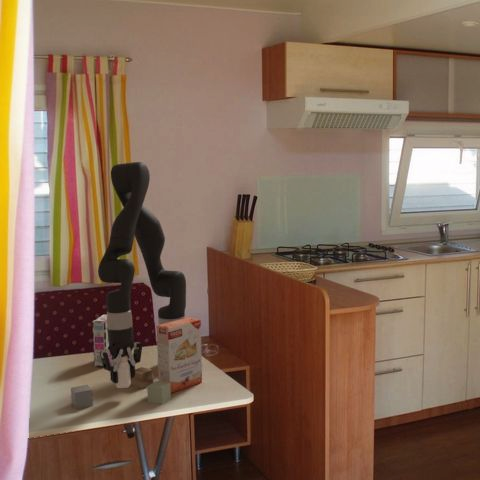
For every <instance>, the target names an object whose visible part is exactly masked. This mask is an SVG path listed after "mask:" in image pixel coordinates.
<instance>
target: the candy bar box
mask: <svg viewBox="0 0 480 480" xmlns="http://www.w3.org/2000/svg"><path fill="white" fill-rule="evenodd" d="M91 323H92V342H93V343H92V344H93V366H94V367H95V368H103V364H102V361H101V357H100V351H105V350H107V349H108V347H109V342H108V332H107V314H102V315H100V316H99V317H97V318H96V319H94V320H92V322H91ZM108 358H109V361H110V358H111V354H110V353H109V357H108Z"/></svg>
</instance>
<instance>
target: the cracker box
mask: <svg viewBox="0 0 480 480" xmlns="http://www.w3.org/2000/svg"><path fill="white" fill-rule="evenodd" d="M201 323H202V322H201V319H198V318H194V317H189V316H188V317H185V318H184V319H180V320H177V321H172V322H168V323H164V324H161V325H159V324H157V325H156V339H157V340H156V341H157V342H156V343H157V346H156V347H157V376H158V378H157V379H158V380H157V381H161V382H169V383H170V388H171V394H173V393H176V392H178V391H181V390H184V389H186V388H190V387H192V386H195V385H198V384H201V383H202V382H203V377H202V376H203V374H202V373H203V371H202V370H203V367H202V366H203V364H202V363H203V362H202V324H201Z"/></svg>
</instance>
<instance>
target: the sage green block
mask: <svg viewBox="0 0 480 480" xmlns="http://www.w3.org/2000/svg"><path fill="white" fill-rule="evenodd" d="M146 389H147V402H148V403H152V404H157V405H159V404H160V405H164V404H165V403H167V402H169V400H171V398H172V395H171V394H172V393H171V388H170V383H169V382H161V381H158V380H154V381H153V383H152V384H150V385H149V386H147V387H146Z"/></svg>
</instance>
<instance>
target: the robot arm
mask: <svg viewBox="0 0 480 480" xmlns="http://www.w3.org/2000/svg"><path fill="white" fill-rule="evenodd" d="M150 178H151V175H150V170H149V167H148V166H147V164H146V163H144V162H141V161H136V162H126V163H118V164H115V165H113V166H112V167H111V170H110V180H111V184H112V186H113V189H114V191H115V193H116V196H117V197H118V199H119V201H120V203H121V205H122V207H123V208H122V209H121V211H120V212H119V213H118V214H117V216H116V217H115V219H114V222H113V224H112V225H111V229H110V234H109V235H110V236H109V243H108V246H107V247H106V249H105V251H104V254H103V255H102V256H103V257H102V258H101V260H100V262H99V265H98V270H97V274H98V278H99V280H101V282H102V283H105V284H120V287H119V288H118V289H114V290H111V291H108V292H107V293H106V296H105V297H106V298H105V300H106V315H107V332H108V342H109V347H108V349H107V350H105V351H100V357H101V361H102V364H103V367H102V368H103V369H104V370H106V371H108V372H109V373H110V381H111V382H112V383H113V384H116V383H118V373H117V371H116V370H117V367H118V364H119V363H120V359H121V357H124V356H127V360H128V362H127V364H128V365H130V375H131V378H134V376H135V369H136V365H137V364H138V363H140V362H141V359H142V352H143V351H142V350H143V343H141V342H139V341H135V342H134V328H133V327H134V326H133V324H134V323H133V314H132V305H131V303H132V302H131V291H132V286H133V281H134V279H135V275H136V274H135V272H136V269H135V266H134V263H133V261H132V260H130V259H128V258H123V259H121V258H120V257H122V256H126V255H129V254H131V252H133V251H132V250H133V244H134V241H135V240H136V244H137V245H138V247H139V248H138V249H139V250H140V253H141V256H142V258H143V261H144V264H145V266H146V267H145V268H146V271H147V272H146V273H147V275H148V280H149V283H150V287H151V290H152V292H153V293H154V294H155V296H157V297H161V298H169V304H167V305H164V306H161V307H159V308H158V309H157V318H158V321H157V322H158V325H161V324H164V323H168V322H172V321H177V320H180V319H184V318H186V317H185V314H186V313H185V312H186V311H185V310H186V308H187V307H186V306H187V281H186V277H185V274H184V273H183V272H182V271H178V270H165V268H164V267H163V264H162V260H161V256H162V252H163V250H164V246H165V242H166V238H165V237H166V236H165V234H164V230H163V228H162V224H161V223H160V220H159V219H158V217H157V216H156V215H155V213H153V212H151V210H150V209H148V208H147V206H145V205H144V201H145V199H146V194H147V192H148V189H149V186H150V180H151V179H150ZM134 239H135V240H134ZM132 351H133V352H132ZM109 353H110V354H111V358H110V361H109V358H108V357H109Z"/></svg>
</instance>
